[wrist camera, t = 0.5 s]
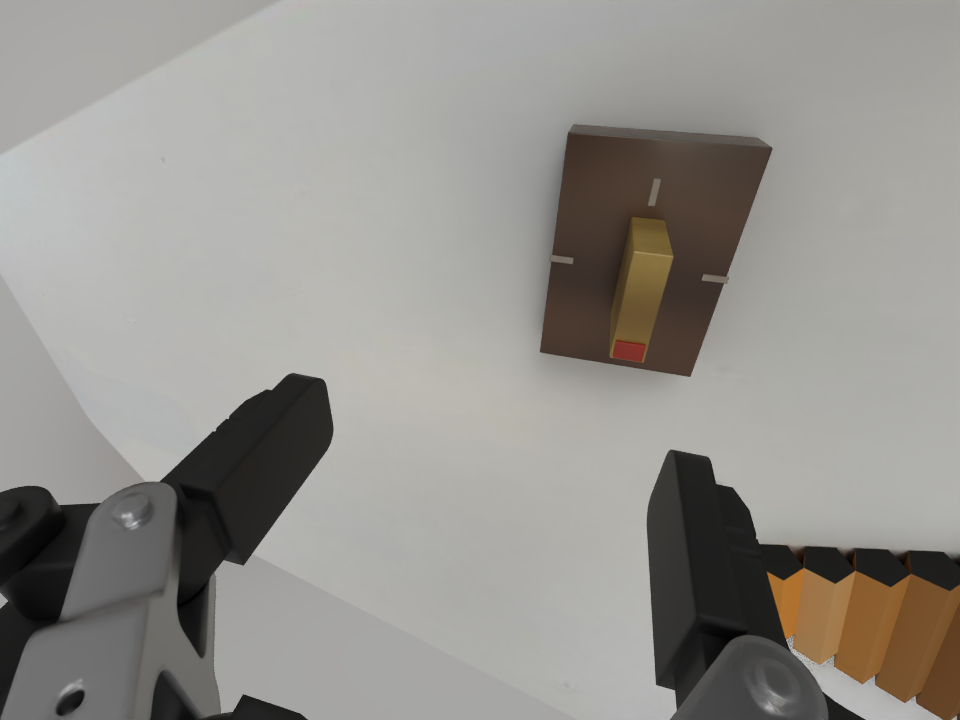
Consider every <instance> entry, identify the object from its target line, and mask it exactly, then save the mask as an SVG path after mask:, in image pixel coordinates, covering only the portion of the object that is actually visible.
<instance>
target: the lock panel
mask: <svg viewBox="0 0 960 720" xmlns="http://www.w3.org/2000/svg"><path fill="white" fill-rule="evenodd" d="M771 151H772V147H770V146H769V145H767V144H766V143H765V142H763V141H762V140H760V139H759V138H753V137H739V136H725V135H711V134H698V133H684V132H670V131H656V130H643V129H629V128H615V127H601V126H587V125H573V126H572V127H571V129H570V131H569V132H568V137H567V145H566V152H565V160H564V168H563V176H562V184H561V191H560V199H559V207H558V215H557V223H556V231H555V238H554V246H553V254H552V255H550V261H552V262H551V270H550V277H549V285H548V293H547V301H546V309H545V316H544V324H543V332H542V340H541V348H540V352H541V353H547V354H553V355H559V356H565V357H571V358H577V359H583V360H590V361H596V362H602V363H608V364H614V365H620V366H627V367H633V368H639V369H645V370H651V371H657V372H663V373H670V374H676V375H682V376H688V377H690V376H691V374H692V371H693V368H694V365H695V362H696V360H697V357H698V354H699V351H700V349H701V346H702V343H703V340H704V337H705V335H706V332H707V329H708V326H709V324H710V321H711V318H712V315H713V312H714V310H715V307H716V304H717V301H718V299H719V296H720V293H721V290H722V287H723V285H724V283H726V284H727V282H728V280H729V277H726V276H727V274H728V271H729V268H730V265H731V262H732V260H733V257H734V254H735V251H736V249H737V246H738V243H739V240H740V237H741V235H742V232H743V229H744V226H745V224H746V221H747V218H748V215H749V212H750V210H751V207H752V204H753V201H754V199H755V196H756V193H757V190H758V187H759V185H760V182H761V179H762V176H763V174H764V171H765V168H766V165H767V162H768V160H769V157H770V154H771ZM632 217H638V218H647V219H657V220H664V221H665V225H666V229H667V233H668V237H669V241H670V245H671V249H672V253H673V261H672V264H671V268H670V271H669V275H668V278H667V282H666V285H665V289H664V293H663V296H662V300H661V303H660V307H659V310H658V314H657V317H656V321H655V324H654V328H653V331H652V335H651V338H650V342H649V345H648V349H647V353H646V356H645V360H644V362H643V363H641V362H635V361H628V360H622V359H616V358H610V356H609V353H610V325H611V308H612V304H613V299H614V295H615V290H616V285H617V281H618V276H619V272H620V267H621V262H622V258H623V253H624V249H625V244H626V240H627V235H628V230H629V226H630V221H631V218H632Z"/></svg>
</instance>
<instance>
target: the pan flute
mask: <svg viewBox="0 0 960 720" xmlns="http://www.w3.org/2000/svg"><path fill="white" fill-rule="evenodd" d="M759 546H760V550H761V553H762V556H761V559H762V560H764V564H765V567H766V571H767V574H768V578H769V581H770V585H771V589H772V592H773V596H774V599H775V603H776V606H777V610H778V613H779V617H780V621H781V624H782V628H783V631H784V635H785V638H786V639H788V638H789V637H791V636H792V635H794V641H793V648H794V649H795V650H797V651H798V652H800V653H801V654H803V655H805V656H806V657H808V658H809V659H811V660H812V661H814V662H816V663H817V664H819V665H820V664H822V663H823V662H825V661H826V660H828V659H829V658H830V657H832V656H833V655H834V667H836V668H837V669H839V670H840V671H842V672H844V673H845V674H847V675H848V676H850V677H852V678H853V679H855V680H856V681H858V682H860V683H861V684H863V683H865V682H866V681H867V680H869V679H870V678H872V677H873V676H874V675H875V685H876V686H878V687H880V688H881V689H883V690H884V691H886V692H888V693H889V694H891V695H892V696H894V697H896V698H897V699H899V700H901V701H902V702H904V703H906V702H907V701H909V700H910V699H911V698H913V697H914V696H915V695H916V703H917V704H918V705H920V706H922V707H923V708H925V709H927V710H928V711H930V712H932V713H933V714H935V715H937V716H938V717H940V718H942V719H943V720H951V719H953V718H954V717H955V716H956V715H957V720H960V567H959V566H958V565H957V564H956V563H955V562H953V561H952V560H951V559H950V558H949V557H948V556H947V555H946V554H945V553H944V552H925V551H909V552H908V555H907V558H906V562H905V565H904V566H903V565H902V564H901V563H900V562H899V561H898V560H897V559H896V558H895V557H894V556H893V555H892V554H891V552H890V551H889V550H877V549H855V554H854V558H853V563H852V566H851V564H850V563H849V562H848V561H847V560H846V559H845V558H844V556H843V555H842V554H841V553H840V552H839V551H838V549H837V548H829V547H805V554H804V562H803V566H802V565H801V563H800V562H799V561H798V559H797V558H796V557H795V555H794V554H793V553H792V551H791V550H790V549H789V547H788V546H781V545H759Z"/></svg>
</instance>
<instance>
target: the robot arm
mask: <svg viewBox="0 0 960 720" xmlns="http://www.w3.org/2000/svg"><path fill="white" fill-rule="evenodd" d="M332 436H333V421H332V415H331V409H330V404H329V398H328V392H327V387H326V383H325V381H324V380H323V379H320V378H316V377H310V376H305V375H300V374H295V373H291V374H289V375H287V376H286V377H285V378H284V379H283V380H282V381H281V382H280V383H279V384H278V385H277V386H276V387H275V388H274V389H273V390H265V391H263V392H261V393H259V394H257V395H255V396H253V397H252V398H250V399H248V400H246V401H245V402H244V403H243V404H241V405H240V406H239V407H238V408H237V409H236V410H235V411H234V412H233V413H232V414H231V415H230V416H229V419H226V420H225V421H223V422H222V423H221V424H220V425H219V426H218V427H217V428H216V431H215V432H212V433H211V434H210V435H209V436H208V437H207V438H205V439H204V440H203V441H202V442H201V443H200V444H199V445H198V446H197V447H196V448H195V449H194V450H193V451H192V452H191V453H190V454H189V455H187V456H186V457H185V458H184V459H183V460H182V461H181V462H180V463H179V464H178V465H177V466H176V467H175V468H174V469H173V470H172V471H171V472H170V473H168V474H167V475H166V476H165V477H164V478H163V479H162V480H161V481H160V482H144V483H139V484H135V485H132V486H129V487H127V488H124V489H122V490H120V491H118V492H116V493H115V494H113V495H111V496H110V497H108V498H107V499H106V500H104V501H103V502H102V503H96V504H95V503H94V504H75V505H58V503H57V502H56V500H55V499H54V498H53V496H52V495H51V493H50V492H49V491H48V490H47V489H45V488H42V487H39V486H24V487H18V488H14V489H10V490H6V491H3V492H1V493H0V593H1V594H2V595H3V596H4V597H5V598H6V599H7V600H8V602H7V603H6V604H5V605H4V606H3V607H2V608H1V609H0V720H307V719H306V718H305V717H304V716H303V715H301V714H300V713H297V712H294V711H291V710H288V709H285V708H282V707H279V706H276V705H273V704H270V703H267V702H264V701H261V700H259V699H256V698H253V697H250V696H247V695H244V694H243V696H242V697H241V699H240V701H239V703H238V704H237V706H236V708H235V709H234V711H233V712H229V713H222V714H221V707H220V697H219V691H218V686H217V682H216V678H215V672H214V637H215V601H216V576H215V573H214V572H215V570H216V569H217V568H218V567H219V565H220V564H221V563H222V561H223V560H226V561H229V562H233V563H236V564H240V565H244V564H245V563H246V561H247V560H248V559H249V557H250V556H251V555H252V553H253V552H254V550H255V549H256V548H257V546H258V545H259V544H260V542H261V541H262V539H263V538H264V537H265V535H266V534H267V532H268V531H269V530H270V528H271V527H272V526H273V524H274V523H275V521H276V520H277V519H278V517H279V516H280V515H281V513H282V512H283V510H284V509H285V508H286V506H287V505H288V504H289V502H290V501H291V499H292V498H293V497H294V495H295V494H296V492H297V491H298V490H299V488H300V487H301V486H302V484H303V483H304V481H305V480H306V479H307V477H308V476H309V475H310V473H311V472H312V470H313V469H314V468H315V466H316V465H317V464H318V462H319V461H320V459H321V458H322V457H323V455H324V454H325V452H326V451H327V449H328V448H329V446H330V443H331V440H332ZM647 537H648V554H649V571H650V588H651V606H652V623H653V640H654V657H655V675H656V685H658V686H662V687H665V688H669V689H672V690H675V694H676V706H677V711H676V713H675V714H674V715H673V717H672V718H671V719H670V720H865V719H863V718H862V717H860V716H858V715H856V714H855V713H853V712H851V711H849V710H848V709H846V708H844V707H843V706H841V705H840V704H838V703H837V702H835V701H834V700H832V699H831V698H830V697H829V696H827V695H826V694H825V693H824V692H822V690H821V688H820V686H819V684H818V683H817V681H816V679H815V678H814V676H813V675H812V674H811V672H810V671H809V670H808V668H807V667H806V666H805V665H804V664H803V663H802V662H801V661H800V660H799V659H798V658H797V657H796V656H795V655H794V654H792V653H791V651H790V649H789V647H788V644H787V641H786V638H785V635H784V631H783V628H782V624H781V621H780V617H779V613H778V610H777V606H776V603H775V599H774V596H773V592H772V589H771V585H770V581H769V578H768V574H767V571H766V567H765V564H764V560H762V559H761V556H762V553H761V550H760V546H759V542H758V539H756V532H755V528H754V525H753V521H752V518H751V514H750V510H749V509H748V508H747V506H746V505H745V504H744V502H743V501H742V500H741V498H740V497H739V495H738V494H737V493H736V491H735V490H734V489H733V488H732V487H727V486H723V485H718V484H716V482H715V477H714V473H713V468H712V464H711V461H710V459H709V457H706V456H701V455H696V454H691V453H686V452H681V451H676V450H669V452H668V453H667V455H666V458H665V460H664V463H663V466H662V468H661V471H660V473H659V476H658V479H657V481H656V484H655V486H654V489H653V491H652V494H651V497H650V501H649V505H648V512H647Z"/></svg>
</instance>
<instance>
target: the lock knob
mask: <svg viewBox="0 0 960 720" xmlns="http://www.w3.org/2000/svg"><path fill="white" fill-rule="evenodd" d="M672 261H673V253H672V249H671V245H670V241H669V237H668V233H667V229H666V225H665V221H664V220H657V219H647V218H638V217H632V218H631V221H630V226H629V230H628V235H627V240H626V244H625V249H624V253H623V258H622V262H621V267H620V272H619V276H618V281H617V285H616V290H615V295H614V299H613V304H612V308H611V325H610V353H609V356H610V358H616V359H622V360H628V361H635V362H641V363H643V362H644V360H645V356H646V353H647V349H648V345H649V342H650V338H651V335H652V331H653V328H654V324H655V321H656V317H657V314H658V310H659V307H660V303H661V300H662V296H663V293H664V289H665V285H666V282H667V278H668V275H669V271H670V268H671V264H672Z"/></svg>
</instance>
